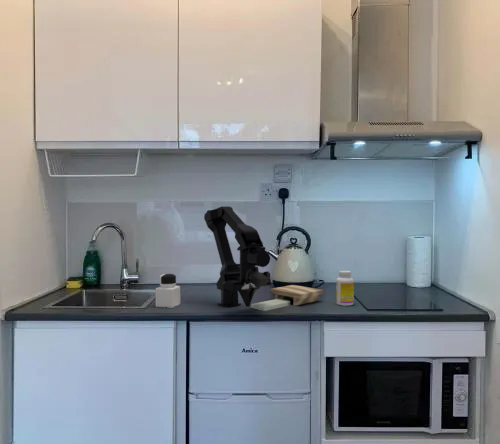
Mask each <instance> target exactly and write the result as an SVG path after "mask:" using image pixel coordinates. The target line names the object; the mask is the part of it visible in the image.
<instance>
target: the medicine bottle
mask: <svg viewBox="0 0 500 444" xmlns="http://www.w3.org/2000/svg"><path fill="white" fill-rule="evenodd" d="M179 305H181V286H180V285H177V276H176V275H175V274H173V273H164V274H160V275H159V287H156V288H155V307H156V308H166V307H167V308H170V309H173V308H176V307H178V306H179Z"/></svg>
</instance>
